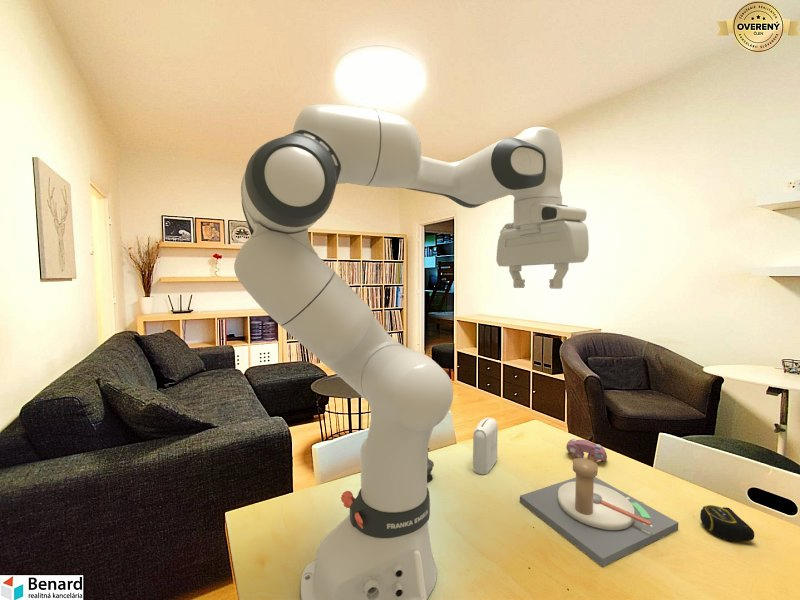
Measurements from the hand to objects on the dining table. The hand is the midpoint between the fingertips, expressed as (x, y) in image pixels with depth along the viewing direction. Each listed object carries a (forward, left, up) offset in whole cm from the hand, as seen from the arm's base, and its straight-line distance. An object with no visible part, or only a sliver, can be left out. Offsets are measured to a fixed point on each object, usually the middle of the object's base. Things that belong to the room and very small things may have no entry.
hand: (536, 288), depth 71 cm
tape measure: (+32, -18, -48) cm, 61 cm away
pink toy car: (+32, +13, -48) cm, 59 cm away
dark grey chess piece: (-13, +24, -48) cm, 55 cm away
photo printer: (+5, +22, -48) cm, 53 cm away
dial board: (+13, -4, -48) cm, 50 cm away
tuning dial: (+14, -5, -46) cm, 48 cm away
